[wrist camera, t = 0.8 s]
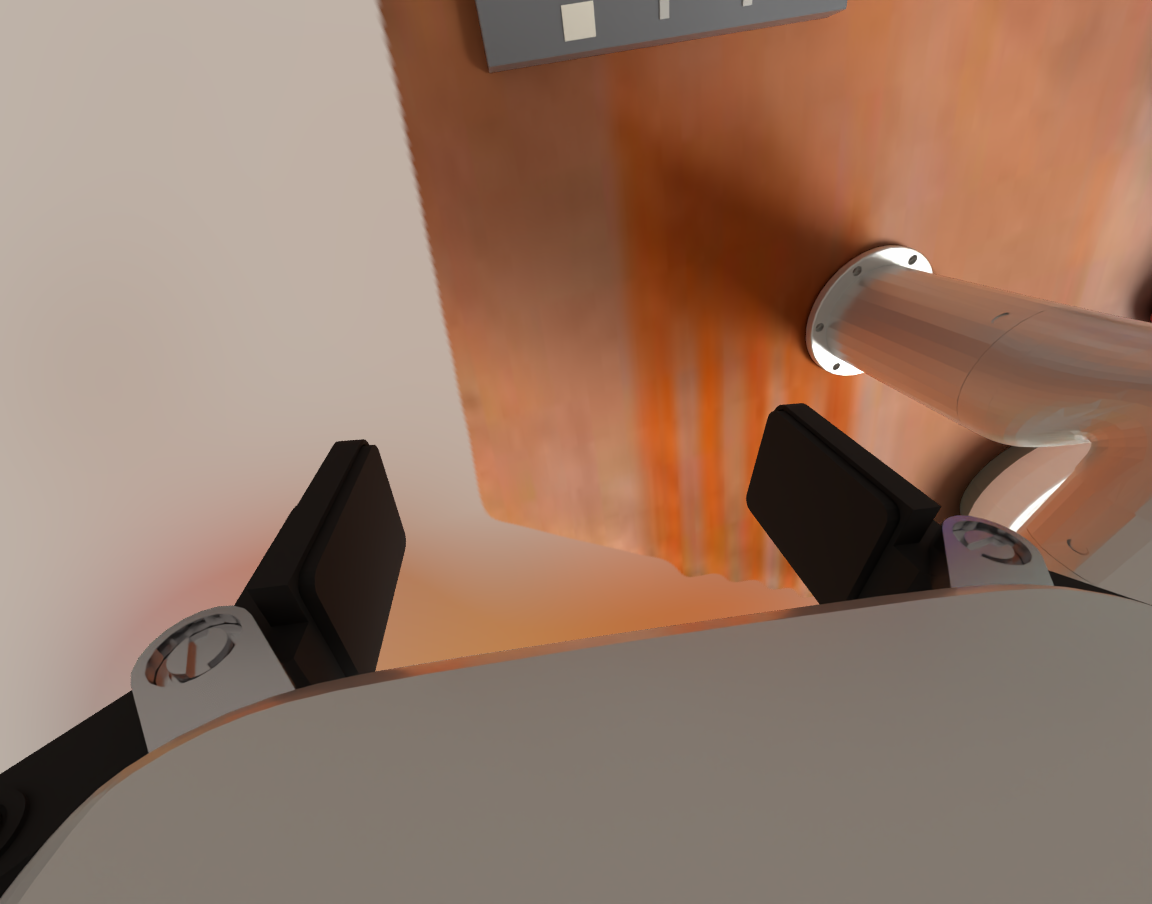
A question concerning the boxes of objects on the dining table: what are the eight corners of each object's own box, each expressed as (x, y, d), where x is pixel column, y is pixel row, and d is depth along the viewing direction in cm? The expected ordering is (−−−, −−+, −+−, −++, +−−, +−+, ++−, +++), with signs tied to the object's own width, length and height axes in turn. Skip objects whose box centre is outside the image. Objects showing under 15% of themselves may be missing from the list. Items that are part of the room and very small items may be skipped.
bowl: (963, 442, 56) (1029, 480, 49) (1127, 391, 56) (1216, 422, 49) (926, 553, 69) (974, 595, 62) (1059, 511, 69) (1122, 549, 62)
